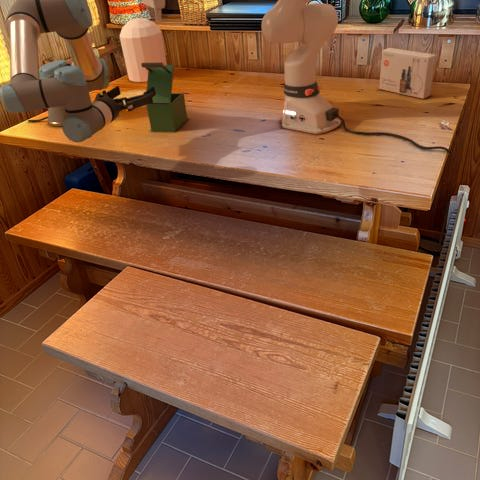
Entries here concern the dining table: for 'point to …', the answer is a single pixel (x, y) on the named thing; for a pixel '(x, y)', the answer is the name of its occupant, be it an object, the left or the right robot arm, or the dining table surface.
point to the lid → (160, 81)
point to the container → (141, 47)
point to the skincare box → (407, 72)
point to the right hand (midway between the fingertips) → (155, 20)
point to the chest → (168, 114)
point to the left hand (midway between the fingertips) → (136, 90)
